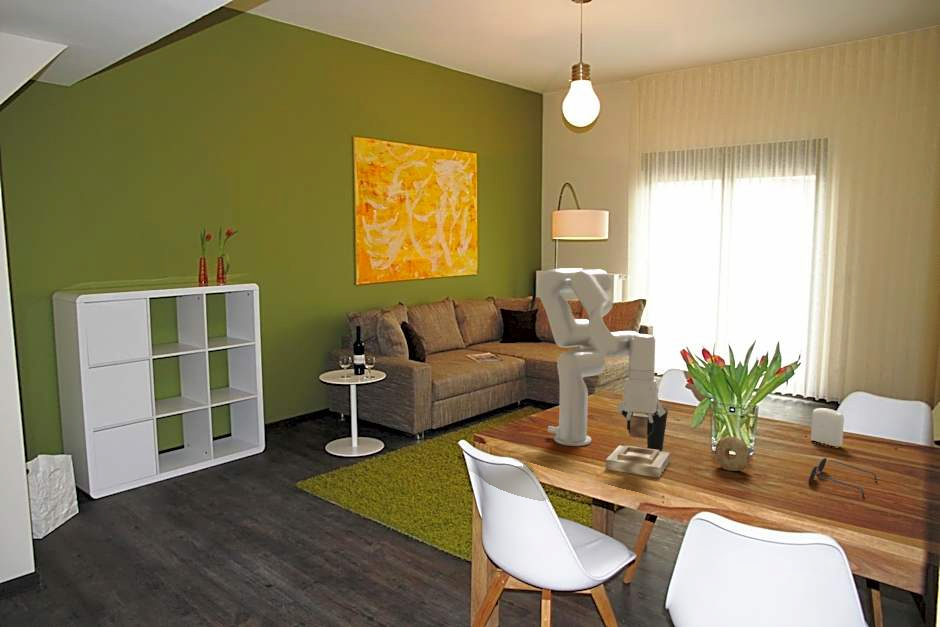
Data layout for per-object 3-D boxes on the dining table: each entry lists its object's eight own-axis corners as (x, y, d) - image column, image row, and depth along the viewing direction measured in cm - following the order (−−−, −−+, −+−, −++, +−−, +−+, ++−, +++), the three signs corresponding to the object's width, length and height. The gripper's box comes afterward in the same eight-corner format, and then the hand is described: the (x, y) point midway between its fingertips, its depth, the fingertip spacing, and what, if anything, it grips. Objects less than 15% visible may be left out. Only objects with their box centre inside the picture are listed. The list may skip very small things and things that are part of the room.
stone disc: (711, 467, 211) (713, 435, 210) (716, 464, 214) (718, 433, 212) (746, 475, 204) (747, 442, 203) (750, 472, 207) (752, 440, 206)
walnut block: (629, 436, 210) (630, 417, 209) (633, 432, 214) (634, 413, 214) (646, 438, 208) (646, 419, 207) (650, 434, 212) (650, 415, 211)
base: (605, 469, 209) (606, 455, 208) (619, 454, 223) (619, 441, 222) (659, 477, 202) (659, 463, 201) (669, 461, 216) (670, 448, 215)
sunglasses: (821, 471, 209) (825, 456, 208) (876, 489, 200) (879, 473, 199) (805, 486, 196) (809, 470, 195) (863, 506, 187) (867, 489, 186)
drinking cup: (667, 452, 225) (670, 392, 223) (643, 451, 227) (645, 391, 224) (666, 445, 233) (668, 387, 230) (642, 444, 234) (644, 386, 232)
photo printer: (808, 441, 239) (810, 406, 237) (816, 439, 241) (818, 405, 239) (836, 449, 230) (838, 413, 228) (844, 447, 232) (846, 411, 231)
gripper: (610, 374, 210) (609, 433, 211) (667, 379, 202) (666, 440, 204) (616, 370, 216) (615, 427, 218) (672, 375, 209) (670, 433, 210)
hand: (640, 432), depth 211 cm, fingers closed on walnut block, 5 cm apart
